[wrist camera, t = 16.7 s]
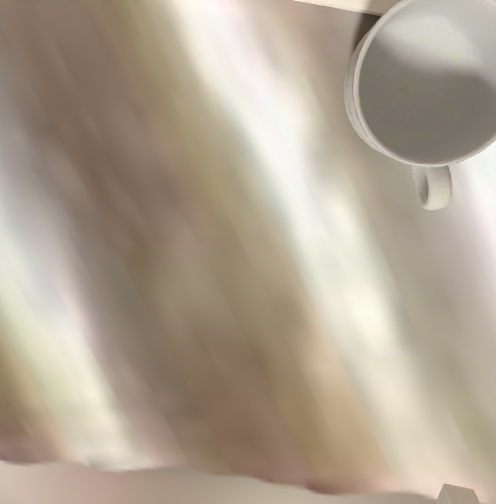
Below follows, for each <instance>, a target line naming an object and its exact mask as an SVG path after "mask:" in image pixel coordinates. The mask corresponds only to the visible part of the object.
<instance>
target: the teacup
mask: <svg viewBox="0 0 496 504" xmlns="http://www.w3.org/2000/svg"><path fill="white" fill-rule="evenodd" d="M344 101H345V108H346V111H347V115H348V117H349V120H350V122H351V124H352V126H353V127H354V129H355V130H356V132H357V133H358V134H359V136H360V137H361V138H362V139H363V140H364V141H365V142H366V143H367V144H369V145H370V146H371V147H373V148H374V149H376V150H377V151H379V152H381V153H383V154H385V155H387V156H389V157H390V158H392V159H394V160H396V161H399V162H401V163H405V164H408V165H410V166H411V172H412V177H413V182H414V186H415V191H416V194H417V198H418V200H419V202H420V204H421V205H422V207H423V208H425V209H428V210H436V209H440V208H443V207H445V206H446V205H448V203H449V202H450V200H451V196H452V180H451V174H450V171H449V167H448V165H451V164H454V163H458V162H461V161H463V160H465V159H468V158H470V157H472V156H474V155H476V154H478V153H480V152H481V151H483V150H484V149H486V148H487V147H488V146H489V145H491V144H492V143H493V142H495V141H496V0H399V1H398V2H396V3H395V4H394V5H393V6H391V7H390V8H389V9H388V10H387V11H386V12H385V13H384V14H383V15H382V16H381V17H380V18H379V19H378V20H377V22H376V23H375V24H374V25H373V26H372V27H371V29H370V30H369V31H368V32H367V33H366V34H365V35H364V37H363V38H362V39H361V41H360V42H359V44H358V45H357V47H356V49H355V51H354V53H353V54H352V56H351V59H350V61H349V64H348V67H347V71H346V75H345V80H344Z"/></svg>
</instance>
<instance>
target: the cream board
mask: <svg viewBox="0 0 496 504" xmlns="http://www.w3.org/2000/svg"><path fill="white" fill-rule="evenodd" d="M295 1H301V2H306V3H311V4H317V5H322V6H328V7H333V8H339V9H344V10H349V11H355V12H360V13H366V14H371V15H377V16H382V15H383V14H384V13H385V12H386V11H387V10H388V9H389V8H390V7H391V6H393V5H394V4H395V3H396V2H398V1H399V0H295Z"/></svg>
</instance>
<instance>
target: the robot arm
mask: <svg viewBox="0 0 496 504" xmlns="http://www.w3.org/2000/svg"><path fill="white" fill-rule="evenodd" d="M435 504H480V502H479V500H478V498H477V496H476V494H475V492H474V490H473V489H468V488H463V487H458V486H453V485H449V484H443V487H442V489H441V491H440V494H439V496H438V498H437V501H436V503H435Z"/></svg>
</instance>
